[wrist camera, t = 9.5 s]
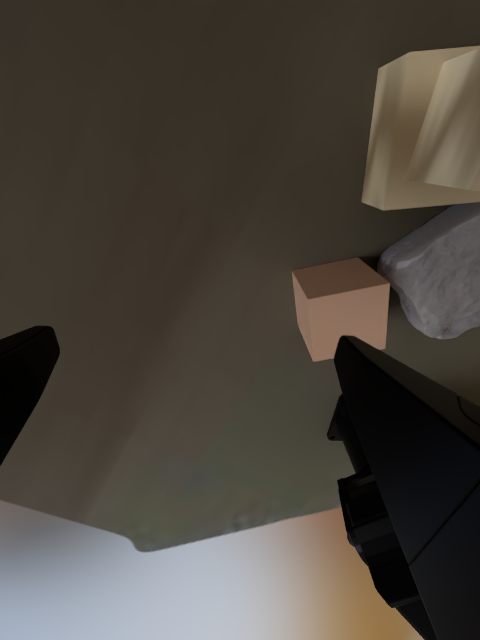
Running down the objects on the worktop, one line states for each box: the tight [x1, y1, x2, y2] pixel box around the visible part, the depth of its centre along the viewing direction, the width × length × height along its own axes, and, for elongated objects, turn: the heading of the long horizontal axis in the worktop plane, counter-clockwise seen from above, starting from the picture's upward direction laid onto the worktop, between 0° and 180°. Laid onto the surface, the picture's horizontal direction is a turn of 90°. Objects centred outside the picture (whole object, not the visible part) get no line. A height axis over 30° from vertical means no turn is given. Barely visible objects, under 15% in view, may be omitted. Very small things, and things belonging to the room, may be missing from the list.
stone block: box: [377, 202, 480, 339], centre depth 21 cm, size 12×5×10 cm
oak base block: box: [361, 46, 480, 211], centre depth 17 cm, size 7×7×4 cm
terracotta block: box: [292, 257, 390, 362], centre depth 21 cm, size 5×5×5 cm
